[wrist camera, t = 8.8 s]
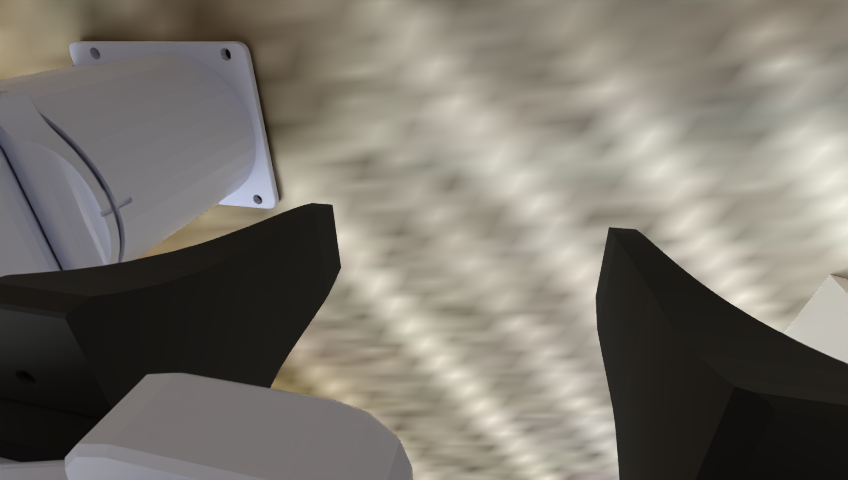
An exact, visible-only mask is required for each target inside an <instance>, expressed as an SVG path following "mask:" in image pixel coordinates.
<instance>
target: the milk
mask: <svg viewBox="0 0 848 480" xmlns="http://www.w3.org/2000/svg"><path fill="white" fill-rule="evenodd" d="M783 334H785V335H787V336H789V337H791V338H793V339H795V340H797V341H799V342H801V343H803V344H805V345H807V346H809V347H811V348H813V349H815V350H818V351H820V352H822V353H824V354H826V355H829V356H831V357H833V358H836V359H838V360H840V361H843V362H845V363H848V279H845V278H842V277H838V276H834V275H829V276H828V278H827V279H826V280H825V281H824V283H823V284H822V285H821V286H820V288H819V289H818V290H817V291H816V293H815V294H814V295H813V296H812V298H811V299H810V300H809V301H808V303H807V304H806V305H805V306H804V308H803V309H802V310H801V312H800V313H799V314H798V315H797V317H796V318H795V319H794V320H793V322H792V323H791V324H790V325H789V327H788V328H787V329H786V330H785V332H784V333H783Z"/></svg>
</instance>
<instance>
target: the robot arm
mask: <svg viewBox="0 0 848 480" xmlns="http://www.w3.org/2000/svg"><path fill="white" fill-rule="evenodd" d="M226 49H228V50H229V51H230V53H231V59H229V58H228V57H227V55H226ZM69 50H70V54H71V57H72V59H73V62H74V65H75V66H71V67H66V68H61V69H56V70H51V71H45V72H40V73H35V74H30V75H25V76H19V77H14V78H9V79H4V80H0V480H413V473H412V466H411V464H410V462H409V460H408V457H407V455H406V453H405V450H404V448H403V446H402V444H401V441H400V440H399V438H398V437H397V436H396V435H395V434H394V433H393V432H392V431H391V430H389V429H388V428H387V427H386V426H385V425H383V424H382V423H381V422H380V421H379V420H377V419H376V418H375V417H374V416H372V415H371V414H370V413H369V412H366V411H363V410H361V409H358V408H355V407H352V406H350V405H347V404H344V403H342V402H339V401H336V400H333V399H327V398H321V397H316V396H310V395H305V394H299V393H293V392H288V391H282V390H276V389H271V388H270V387H271V385H272V383H273V381H274V379H275V377H276V375H277V373H278V371H279V369H280V368H281V366H282V364H283V363H284V361H285V360H286V358H287V356H288V355H289V353H290V352H291V350H292V349H293V347H294V346H295V344H296V343H297V341H298V340H299V338H300V337H301V335H302V334H303V333H304V331H305V330H306V328H307V327H308V325H309V324H310V322H311V321H312V319H313V318H314V316H315V315H316V313H317V312H318V310H319V309H320V307H321V306H322V304H323V303H324V301H325V300H326V298H327V296H328V295H329V293H330V291H331V289H332V286H333V284H334V282H335V280H336V278H337V275H338V273H339V271H340V269H341V264H340V257H339V250H338V242H337V235H336V228H335V220H334V213H333V205H329V204H317V203H311V204H306V205H303V206H300V207H297V208H294V209H291V210H289V211H286V212H283V213H281V214H278V215H276V216H273V217H271V218H268V219H266V220H263V221H261V222H259V223H256V224H254V225H251V226H249V227H246V228H243V229H240V230H238V231H235V232H232V233H230V234H227V235H224V236H222V237H219V238H216V239H213V240H210V241H207V242H204V243H201V244H198V245H194V246H191V247H187V248H183V249H180V250H176V251H172V252H169V253H164V254H159V255H155V256H150V257H146V258H141V259H138V258H139V257H140V256H142V255H143V254H145V253H146V252H148V251H149V250H151V249H152V248H153V247H155V246H156V245H158V244H159V243H161V242H162V241H164V240H165V239H167V238H168V237H169V236H171V235H172V234H174V233H175V232H177V231H178V230H180V229H181V228H183V227H184V226H185V225H187V224H188V223H190V222H191V221H193V220H194V219H196V218H197V217H198V216H200V215H201V214H203V213H204V212H206V211H207V210H209V209H210V208H212V207H213V206H214V205H216V204H221V205H232V206H244V207H256V208H267V209H270V208H273V207H275V206H276V205H277V204H278V202H279V197H278V192H277V187H276V182H275V177H274V172H273V167H272V162H271V157H270V152H269V147H268V142H267V136H266V131H265V126H264V121H263V116H262V111H261V106H260V101H259V96H258V91H257V86H256V81H255V76H254V70H253V65H252V60H251V55H250V52H249V49H248V48H247V46H246V45H245V44H243V43H242V42H239V41H78V42H73V43H71V44H70V48H69ZM97 50H98V51H99V53H100V56H99V54H98V52H97ZM257 195H259V196H260V197H261V198H262V201H261V200H260V199H258V197H257ZM596 314H597V330H598V336H599V341H600V346H601V351H602V356H603V361H604V366H605V371H606V376H607V381H608V386H609V391H610V396H611V401H612V406H613V413H614V419H615V428H616V440H617V452H618V465H619V479H620V480H848V363H845V362H843V361H840V360H838V359H836V358H833V357H831V356H829V355H826V354H824V353H822V352H820V351H818V350H815V349H813V348H811V347H809V346H807V345H805V344H803V343H801V342H799V341H797V340H795V339H793V338H791V337H789V336H787V335H785V334H783V333H781V332H779V331H777V330H775V329H773V328H771V327H769V326H768V325H766V324H764V323H762V322H760V321H758V320H757V319H755V318H753V317H752V316H750V315H748V314H747V313H745V312H743V311H742V310H740V309H739V308H737V307H735V306H734V305H732V304H730V303H729V302H727V301H726V300H724V299H723V298H721V297H720V296H718V295H717V294H715V293H714V292H713V291H711V290H710V289H708V288H707V287H706V286H704V285H703V284H702V283H700V282H699V281H698V280H696V279H695V278H694V277H692V276H691V275H690V274H689V273H687V272H686V271H685V270H684V269H682V268H681V267H680V266H679V265H677V264H676V263H675V262H674V261H673V260H671V259H670V258H669V257H668V256H667V255H666V254H664V253H663V252H662V251H661V250H660V249H659V248H658V247H657V246H655V245H654V244H653V243H652V242H651V241H650V240H649V239H647V238H646V237H645V236H644V235H643V234H641V233H640V232H639V231H638V230H636V229H623V228H611V227H609V230H608V236H607V241H606V246H605V251H604V256H603V261H602V267H601V272H600V277H599V282H598V287H597V292H596Z"/></svg>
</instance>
